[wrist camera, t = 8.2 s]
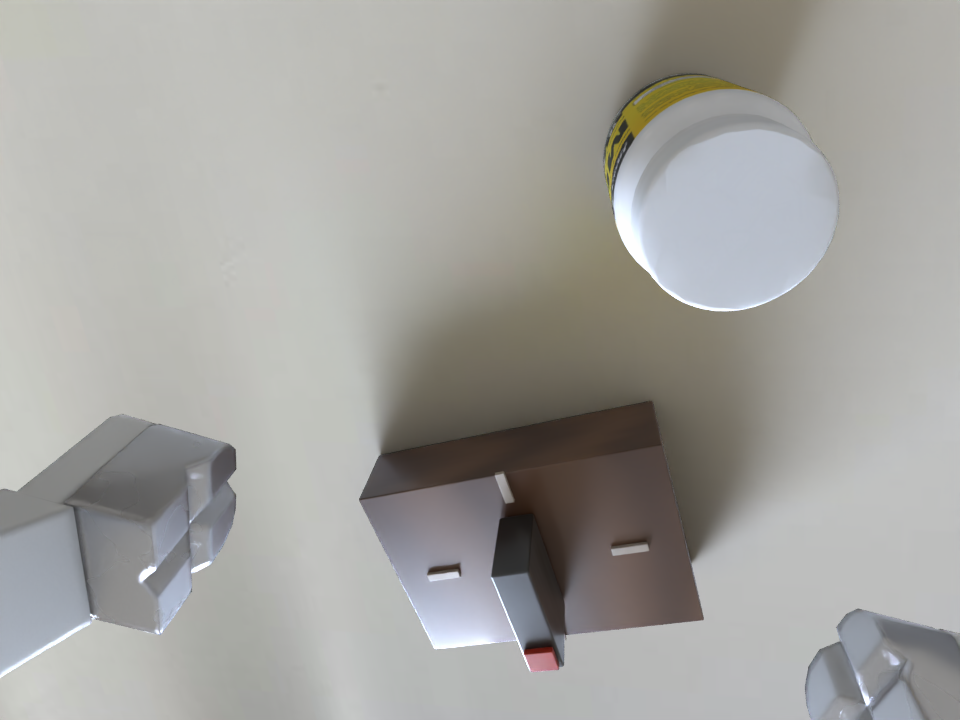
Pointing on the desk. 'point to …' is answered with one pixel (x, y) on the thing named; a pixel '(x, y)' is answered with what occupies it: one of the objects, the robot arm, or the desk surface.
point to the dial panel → (538, 524)
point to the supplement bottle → (718, 191)
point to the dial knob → (529, 592)
